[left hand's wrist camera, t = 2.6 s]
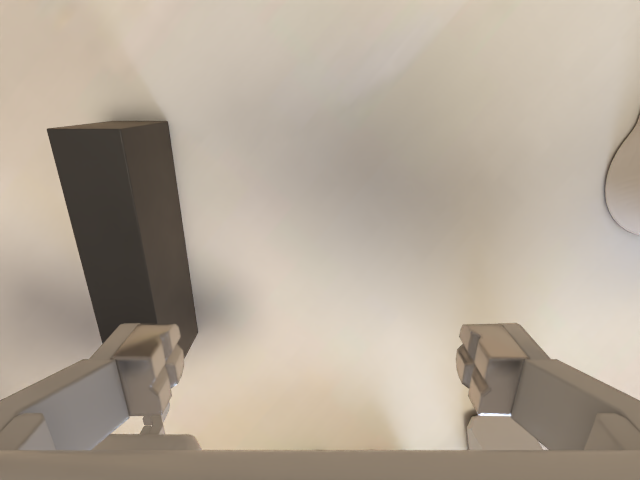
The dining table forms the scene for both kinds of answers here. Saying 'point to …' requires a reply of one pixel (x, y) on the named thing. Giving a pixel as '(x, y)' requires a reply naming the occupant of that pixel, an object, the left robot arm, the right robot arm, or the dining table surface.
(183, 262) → the bar
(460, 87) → the dining table surface
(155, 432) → the right robot arm
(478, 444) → the electronic device
